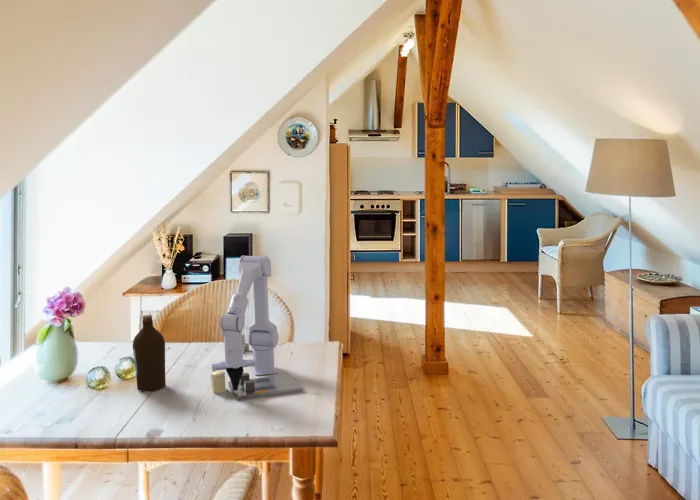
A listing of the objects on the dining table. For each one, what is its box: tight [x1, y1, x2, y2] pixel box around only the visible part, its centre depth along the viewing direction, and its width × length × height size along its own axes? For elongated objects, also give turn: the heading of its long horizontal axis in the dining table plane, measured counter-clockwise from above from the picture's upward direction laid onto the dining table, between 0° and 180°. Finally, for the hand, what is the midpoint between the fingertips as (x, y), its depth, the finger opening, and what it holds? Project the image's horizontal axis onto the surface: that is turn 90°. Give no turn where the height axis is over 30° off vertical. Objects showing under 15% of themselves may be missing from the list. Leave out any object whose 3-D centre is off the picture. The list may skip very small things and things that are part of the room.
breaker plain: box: [239, 372, 251, 384], centre depth 256 cm, size 2×3×3 cm
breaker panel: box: [227, 373, 303, 401], centre depth 254 cm, size 15×22×2 cm
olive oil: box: [132, 314, 166, 392], centre depth 256 cm, size 11×11×25 cm
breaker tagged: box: [244, 380, 255, 392], centre depth 249 cm, size 2×3×3 cm
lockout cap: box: [210, 370, 227, 394], centre depth 253 cm, size 5×5×6 cm
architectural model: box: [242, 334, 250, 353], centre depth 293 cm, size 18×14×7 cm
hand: (235, 389), depth 247 cm, fingers closed
